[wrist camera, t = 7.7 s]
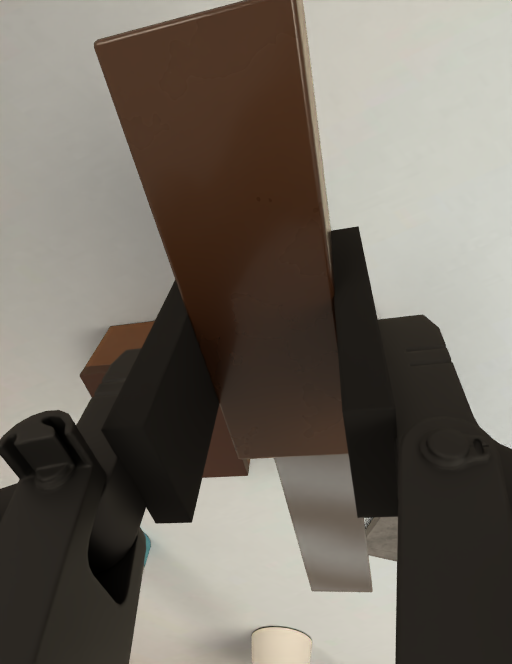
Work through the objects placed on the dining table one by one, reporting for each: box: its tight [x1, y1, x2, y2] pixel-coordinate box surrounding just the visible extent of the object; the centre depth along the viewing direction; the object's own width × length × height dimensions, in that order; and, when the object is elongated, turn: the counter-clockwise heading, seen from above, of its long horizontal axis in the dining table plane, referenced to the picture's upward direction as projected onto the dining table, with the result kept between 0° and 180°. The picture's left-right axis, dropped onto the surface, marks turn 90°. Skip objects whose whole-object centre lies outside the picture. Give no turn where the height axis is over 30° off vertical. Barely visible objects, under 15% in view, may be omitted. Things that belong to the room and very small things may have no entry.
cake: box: [80, 321, 250, 478], centre depth 30 cm, size 10×8×5 cm
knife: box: [94, 0, 373, 592], centre depth 15 cm, size 24×3×4 cm, turn 12°
